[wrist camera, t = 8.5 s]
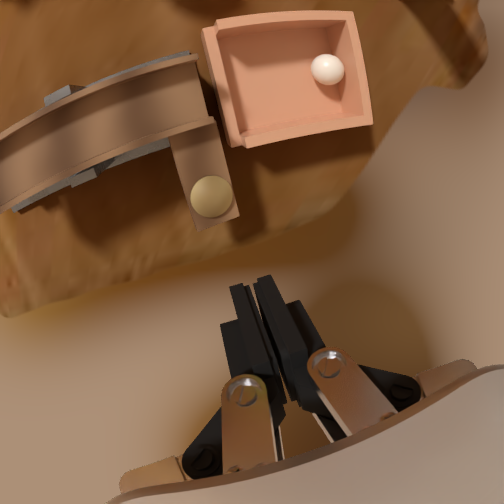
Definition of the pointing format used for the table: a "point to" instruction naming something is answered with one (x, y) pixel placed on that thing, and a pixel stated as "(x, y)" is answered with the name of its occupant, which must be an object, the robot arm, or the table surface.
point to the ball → (327, 69)
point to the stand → (100, 167)
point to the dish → (285, 75)
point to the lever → (123, 137)
